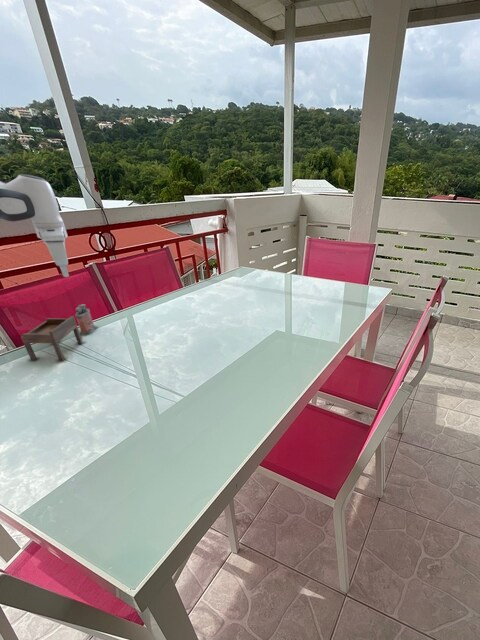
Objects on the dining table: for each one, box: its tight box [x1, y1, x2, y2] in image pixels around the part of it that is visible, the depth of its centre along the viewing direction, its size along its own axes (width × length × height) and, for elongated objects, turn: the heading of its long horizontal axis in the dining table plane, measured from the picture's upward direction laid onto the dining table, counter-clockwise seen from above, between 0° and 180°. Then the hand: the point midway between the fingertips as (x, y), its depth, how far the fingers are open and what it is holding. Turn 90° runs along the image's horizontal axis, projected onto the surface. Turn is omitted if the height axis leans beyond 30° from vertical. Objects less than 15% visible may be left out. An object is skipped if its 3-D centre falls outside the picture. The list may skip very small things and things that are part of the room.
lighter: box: [74, 303, 96, 336], centre depth 127 cm, size 8×3×10 cm, turn 6°
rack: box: [20, 315, 84, 362], centre depth 112 cm, size 10×14×10 cm
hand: (65, 273), depth 121 cm, fingers open, 8 cm apart
